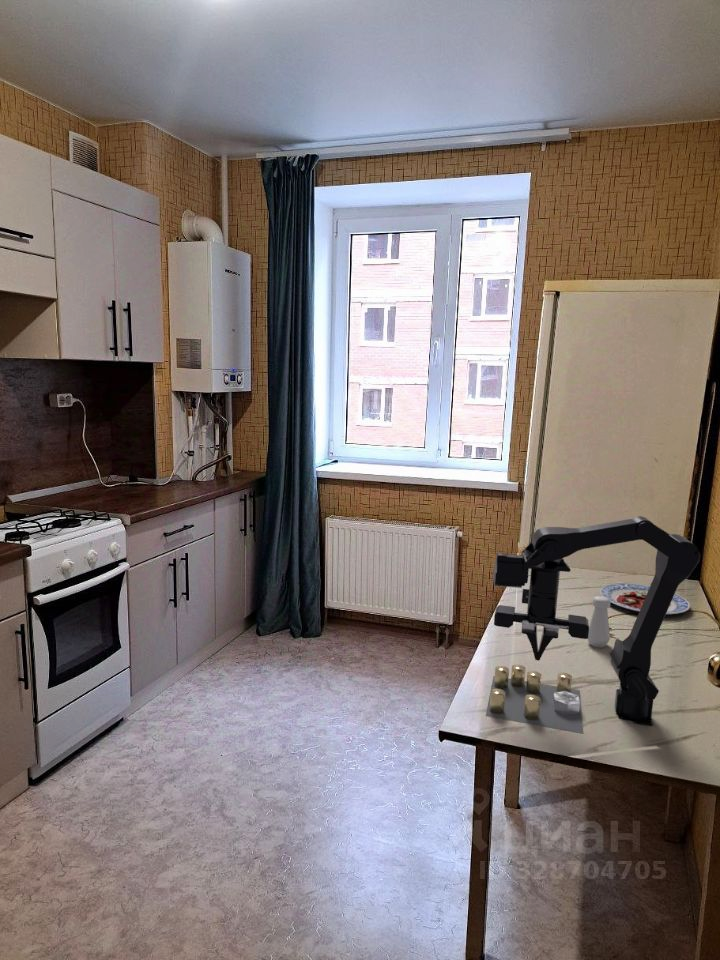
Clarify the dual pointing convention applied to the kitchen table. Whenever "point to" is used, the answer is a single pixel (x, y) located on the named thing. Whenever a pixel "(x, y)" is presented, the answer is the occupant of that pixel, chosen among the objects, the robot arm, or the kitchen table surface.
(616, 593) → the ceramic plate
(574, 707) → the clear faceted crystal
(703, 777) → the kitchen table surface
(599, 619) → the salt shaker
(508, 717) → the mat
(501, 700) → the brass spacers
